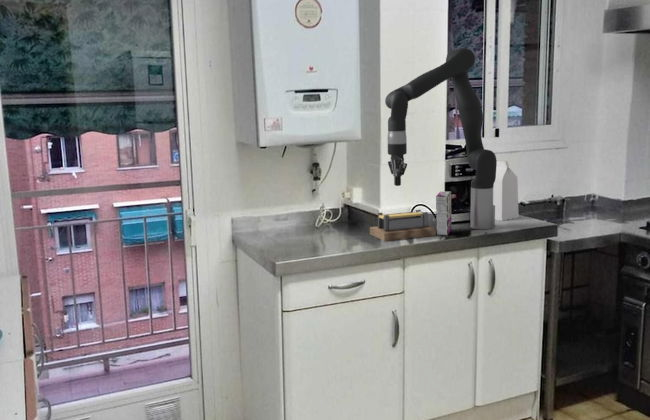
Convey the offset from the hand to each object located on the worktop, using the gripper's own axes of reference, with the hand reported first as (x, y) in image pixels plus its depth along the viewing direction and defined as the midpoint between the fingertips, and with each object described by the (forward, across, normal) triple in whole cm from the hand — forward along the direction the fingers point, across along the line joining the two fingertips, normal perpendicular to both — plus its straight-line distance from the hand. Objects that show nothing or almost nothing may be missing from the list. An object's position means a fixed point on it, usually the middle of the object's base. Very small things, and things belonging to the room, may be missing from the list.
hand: (397, 185), depth 244 cm
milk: (+21, +12, -58) cm, 63 cm away
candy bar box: (+21, -4, -19) cm, 28 cm away
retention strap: (+13, 0, -2) cm, 13 cm away
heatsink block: (+18, 0, -2) cm, 18 cm away
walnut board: (+21, 0, -2) cm, 21 cm away
